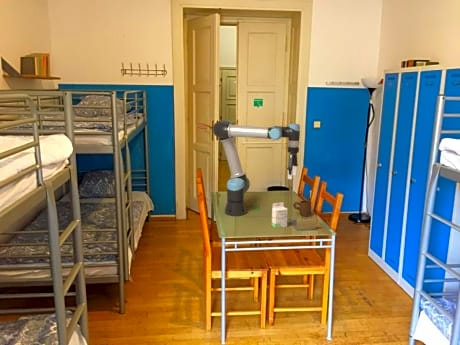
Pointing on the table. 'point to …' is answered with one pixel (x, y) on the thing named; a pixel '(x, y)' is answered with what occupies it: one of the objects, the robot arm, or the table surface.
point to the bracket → (304, 224)
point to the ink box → (279, 215)
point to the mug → (304, 208)
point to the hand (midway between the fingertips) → (292, 177)
